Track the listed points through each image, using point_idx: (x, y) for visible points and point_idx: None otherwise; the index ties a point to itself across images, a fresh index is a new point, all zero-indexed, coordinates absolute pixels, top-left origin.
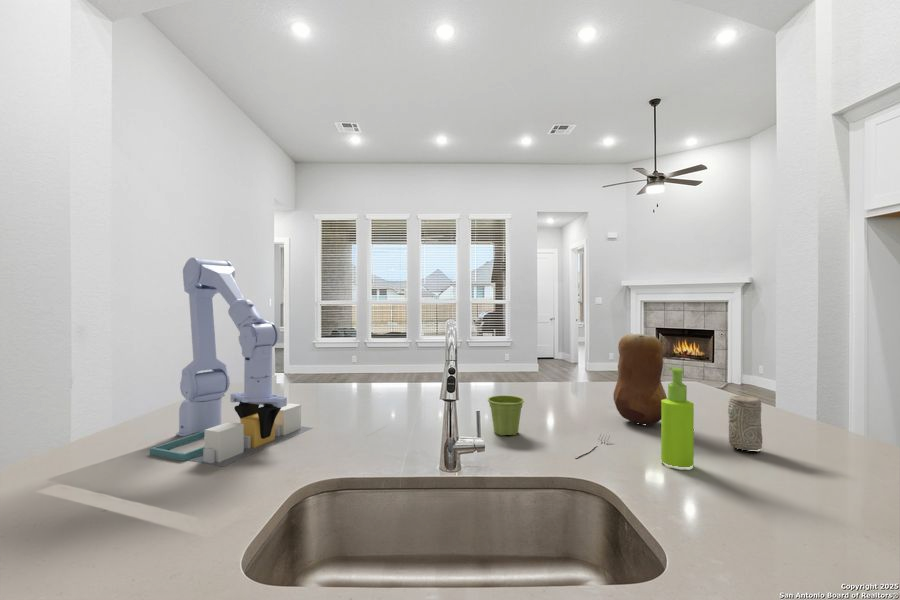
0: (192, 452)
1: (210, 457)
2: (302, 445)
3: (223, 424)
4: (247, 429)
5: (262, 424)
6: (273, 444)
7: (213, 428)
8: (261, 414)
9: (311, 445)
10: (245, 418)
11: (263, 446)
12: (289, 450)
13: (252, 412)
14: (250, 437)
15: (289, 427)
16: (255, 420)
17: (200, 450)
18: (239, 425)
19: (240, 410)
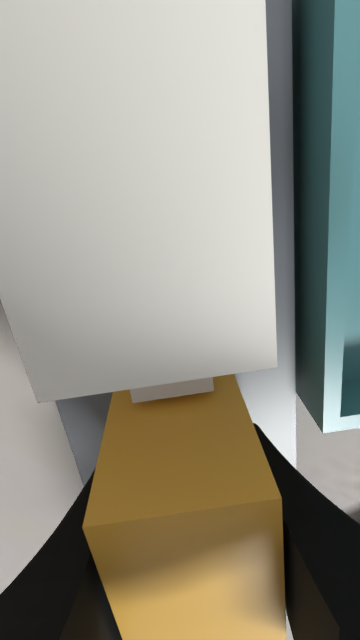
0: (329, 3)
1: None
2: (42, 520)
3: (245, 261)
4: (177, 435)
5: (72, 524)
6: (75, 448)
7: (189, 23)
8: (4, 630)
9: (8, 536)
10: (228, 517)
11: (89, 405)
12: (29, 462)
13: (300, 625)
14: (134, 397)
15: None
16: (84, 529)
17: (324, 97)
18: (19, 344)
19: (347, 599)
